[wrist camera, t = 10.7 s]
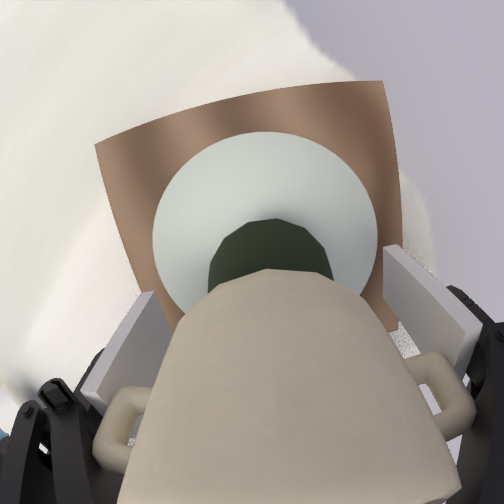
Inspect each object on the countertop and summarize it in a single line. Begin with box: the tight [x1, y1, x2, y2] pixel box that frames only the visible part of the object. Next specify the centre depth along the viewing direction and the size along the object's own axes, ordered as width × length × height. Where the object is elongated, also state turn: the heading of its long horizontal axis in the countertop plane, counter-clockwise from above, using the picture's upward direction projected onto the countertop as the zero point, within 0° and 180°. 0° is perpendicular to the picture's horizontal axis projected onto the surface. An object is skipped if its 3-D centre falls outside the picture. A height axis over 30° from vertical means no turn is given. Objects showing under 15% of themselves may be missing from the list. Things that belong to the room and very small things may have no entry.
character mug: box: [92, 218, 477, 504], centre depth 9 cm, size 11×7×13 cm, turn 98°
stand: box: [95, 81, 402, 334], centre depth 19 cm, size 20×20×2 cm
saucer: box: [153, 132, 377, 314], centre depth 18 cm, size 15×15×1 cm
